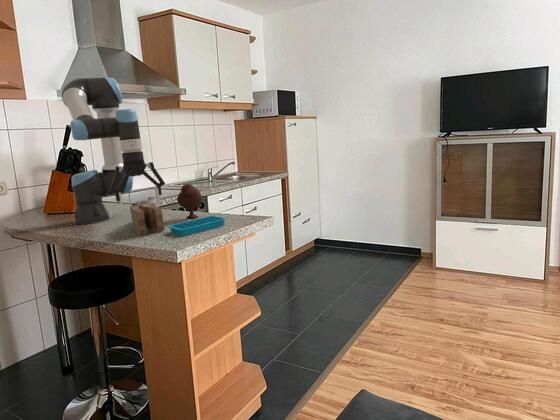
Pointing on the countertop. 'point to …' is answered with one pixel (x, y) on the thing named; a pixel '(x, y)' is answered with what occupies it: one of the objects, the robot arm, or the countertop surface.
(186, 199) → the ice cream bowl
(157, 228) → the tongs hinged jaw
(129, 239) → the countertop surface
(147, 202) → the food container
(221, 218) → the ice cube tray
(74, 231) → the countertop surface
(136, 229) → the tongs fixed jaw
